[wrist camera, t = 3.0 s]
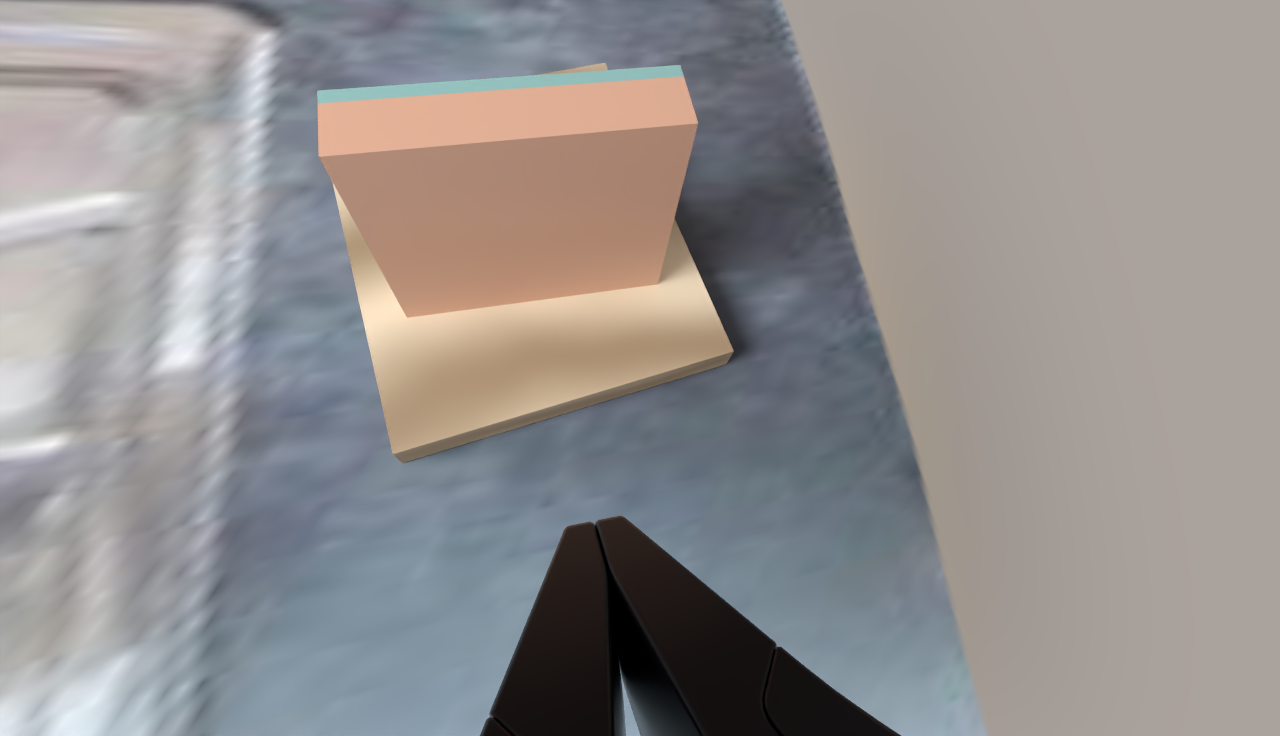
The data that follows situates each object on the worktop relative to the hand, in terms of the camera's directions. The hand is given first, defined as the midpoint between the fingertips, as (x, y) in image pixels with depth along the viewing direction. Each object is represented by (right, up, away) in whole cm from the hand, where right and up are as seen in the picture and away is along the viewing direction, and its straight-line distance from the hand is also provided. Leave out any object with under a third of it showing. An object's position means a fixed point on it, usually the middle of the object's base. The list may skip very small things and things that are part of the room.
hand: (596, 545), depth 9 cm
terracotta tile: (-3, +6, +13) cm, 15 cm away
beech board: (-4, +7, +15) cm, 18 cm away
